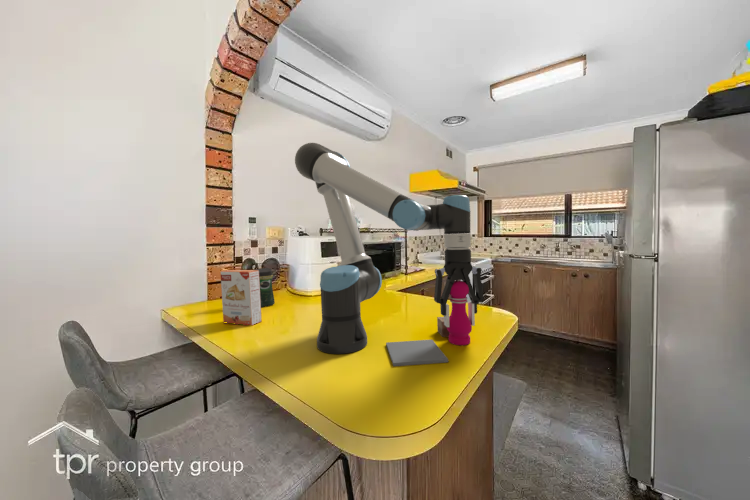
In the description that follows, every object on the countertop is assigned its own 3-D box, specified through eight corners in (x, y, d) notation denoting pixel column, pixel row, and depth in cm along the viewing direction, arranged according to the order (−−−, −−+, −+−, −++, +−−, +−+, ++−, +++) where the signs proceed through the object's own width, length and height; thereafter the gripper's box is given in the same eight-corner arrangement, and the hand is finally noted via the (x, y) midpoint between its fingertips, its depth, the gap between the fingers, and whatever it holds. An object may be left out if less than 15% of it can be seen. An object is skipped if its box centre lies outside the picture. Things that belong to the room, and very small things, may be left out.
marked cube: (442, 337, 91) (442, 321, 90) (437, 331, 96) (437, 316, 96) (457, 336, 91) (457, 320, 91) (452, 330, 96) (451, 315, 96)
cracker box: (222, 324, 113) (219, 271, 112) (234, 319, 118) (231, 269, 117) (251, 326, 108) (248, 271, 107) (262, 321, 114) (259, 269, 113)
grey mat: (393, 366, 71) (393, 363, 71) (386, 345, 85) (386, 342, 85) (448, 362, 73) (448, 359, 73) (432, 342, 86) (432, 339, 86)
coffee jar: (271, 302, 148) (269, 266, 147) (276, 305, 142) (274, 268, 141) (251, 305, 143) (249, 268, 142) (255, 308, 136) (253, 269, 135)
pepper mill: (473, 346, 82) (472, 277, 81) (447, 345, 84) (446, 277, 83) (470, 337, 89) (469, 273, 88) (446, 336, 91) (445, 273, 90)
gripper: (428, 250, 80) (430, 331, 81) (496, 247, 82) (497, 326, 83) (421, 249, 88) (423, 323, 89) (483, 246, 90) (485, 319, 91)
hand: (459, 324), depth 86 cm, fingers closed on pepper mill, 7 cm apart
